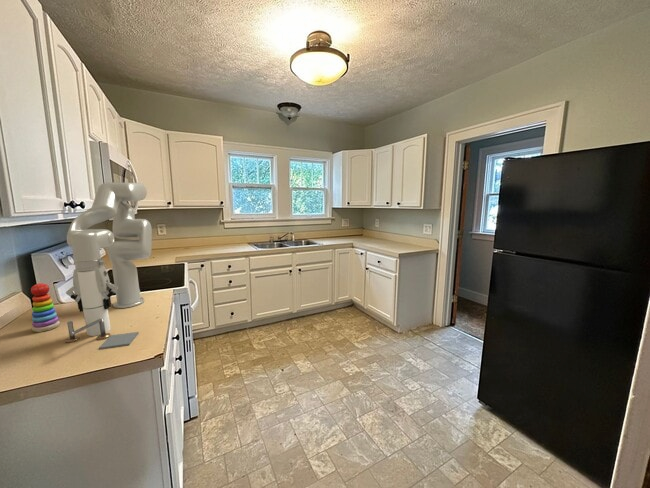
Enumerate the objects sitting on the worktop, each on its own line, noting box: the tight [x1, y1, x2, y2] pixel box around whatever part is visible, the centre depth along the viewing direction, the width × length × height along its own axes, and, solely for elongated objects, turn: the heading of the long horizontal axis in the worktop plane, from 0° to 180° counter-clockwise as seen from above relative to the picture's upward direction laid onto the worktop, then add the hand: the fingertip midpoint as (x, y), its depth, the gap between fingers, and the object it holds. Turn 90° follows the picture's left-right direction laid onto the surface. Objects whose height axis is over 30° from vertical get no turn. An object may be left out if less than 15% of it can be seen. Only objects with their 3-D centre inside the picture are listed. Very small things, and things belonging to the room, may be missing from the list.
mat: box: [98, 331, 140, 350], centre depth 99 cm, size 9×9×1 cm
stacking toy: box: [30, 282, 61, 333], centre depth 108 cm, size 8×8×19 cm
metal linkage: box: [65, 319, 112, 344], centre depth 96 cm, size 14×14×8 cm
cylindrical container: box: [77, 271, 112, 337], centre depth 104 cm, size 7×7×25 cm
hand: (95, 308), depth 105 cm, fingers closed on cylindrical container, 7 cm apart
